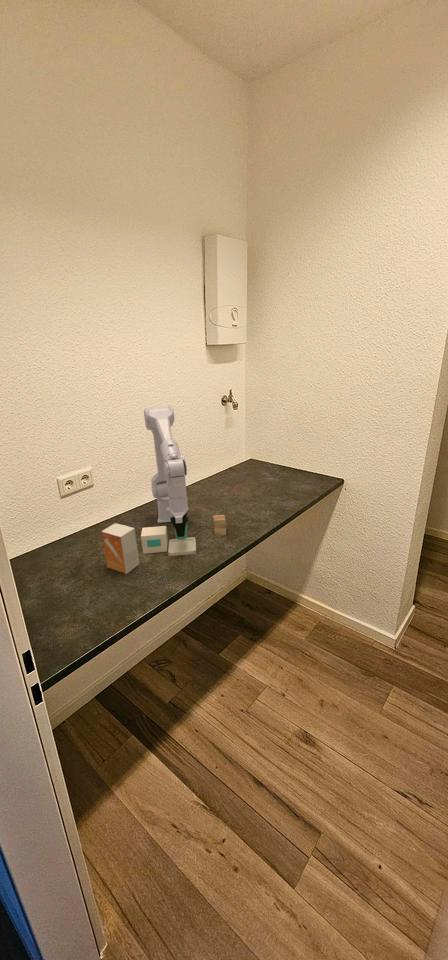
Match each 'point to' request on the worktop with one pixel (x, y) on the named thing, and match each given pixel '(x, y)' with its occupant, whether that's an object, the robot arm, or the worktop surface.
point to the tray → (182, 546)
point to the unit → (154, 539)
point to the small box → (120, 548)
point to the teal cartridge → (184, 535)
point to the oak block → (219, 525)
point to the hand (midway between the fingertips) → (181, 533)
